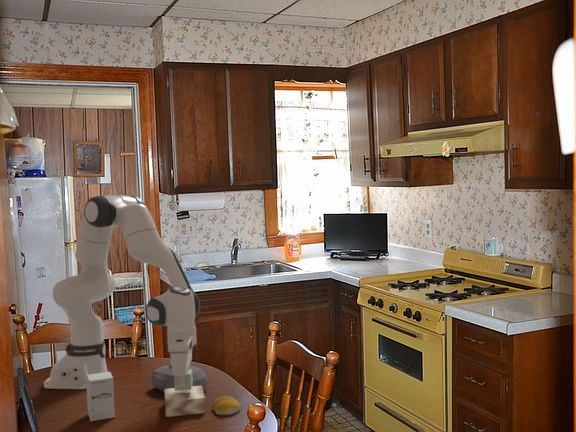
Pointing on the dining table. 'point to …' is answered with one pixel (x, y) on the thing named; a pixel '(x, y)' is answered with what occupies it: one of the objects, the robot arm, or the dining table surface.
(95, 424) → the dining table surface
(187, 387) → the sage cube
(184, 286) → the robot arm
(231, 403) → the bread roll
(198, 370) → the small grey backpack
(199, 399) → the wooden block
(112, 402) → the supplement box
